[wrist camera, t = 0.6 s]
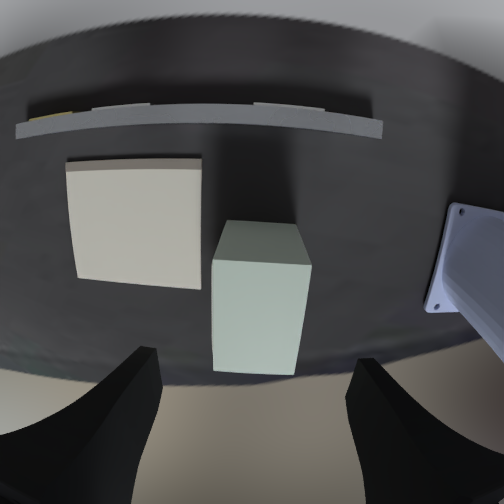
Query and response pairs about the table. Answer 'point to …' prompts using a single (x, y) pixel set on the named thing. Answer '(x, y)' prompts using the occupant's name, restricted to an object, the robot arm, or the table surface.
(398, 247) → the table surface
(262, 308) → the sage carton
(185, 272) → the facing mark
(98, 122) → the rail
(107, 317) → the table surface
